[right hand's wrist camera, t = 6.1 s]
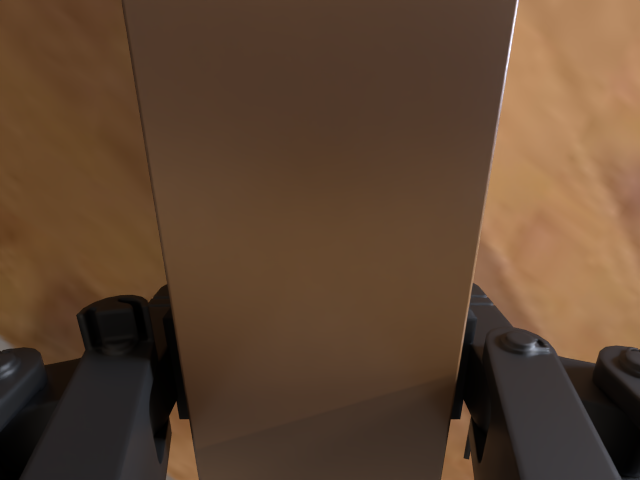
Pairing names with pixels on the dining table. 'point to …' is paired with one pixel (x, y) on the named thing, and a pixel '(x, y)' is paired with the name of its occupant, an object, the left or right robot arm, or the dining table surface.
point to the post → (320, 220)
